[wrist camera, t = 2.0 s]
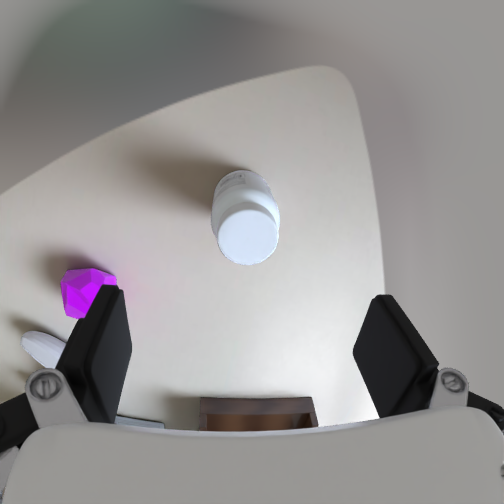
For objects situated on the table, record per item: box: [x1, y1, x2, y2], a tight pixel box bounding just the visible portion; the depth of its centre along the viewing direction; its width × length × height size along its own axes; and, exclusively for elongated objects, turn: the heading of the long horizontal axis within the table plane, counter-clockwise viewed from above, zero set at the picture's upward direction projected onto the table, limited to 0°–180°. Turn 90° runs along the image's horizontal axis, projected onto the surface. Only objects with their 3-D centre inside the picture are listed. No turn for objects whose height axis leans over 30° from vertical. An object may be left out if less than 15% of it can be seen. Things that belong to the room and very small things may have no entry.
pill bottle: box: [211, 170, 280, 265], centre depth 21 cm, size 4×4×8 cm
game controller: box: [20, 331, 66, 369], centre depth 31 cm, size 14×4×10 cm
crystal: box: [61, 268, 117, 319], centre depth 25 cm, size 5×5×5 cm
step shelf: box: [199, 397, 318, 432], centre depth 35 cm, size 14×16×11 cm
